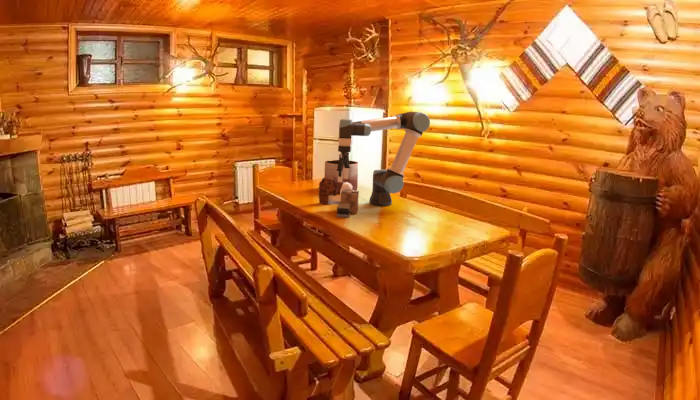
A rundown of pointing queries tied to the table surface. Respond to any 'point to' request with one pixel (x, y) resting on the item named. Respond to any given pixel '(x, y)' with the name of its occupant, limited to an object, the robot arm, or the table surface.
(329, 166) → the planter
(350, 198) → the brown open box
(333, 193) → the wooden figurine
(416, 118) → the robot arm
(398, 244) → the table surface
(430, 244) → the table surface
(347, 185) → the figurine
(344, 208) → the v block
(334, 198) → the axle
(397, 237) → the table surface
